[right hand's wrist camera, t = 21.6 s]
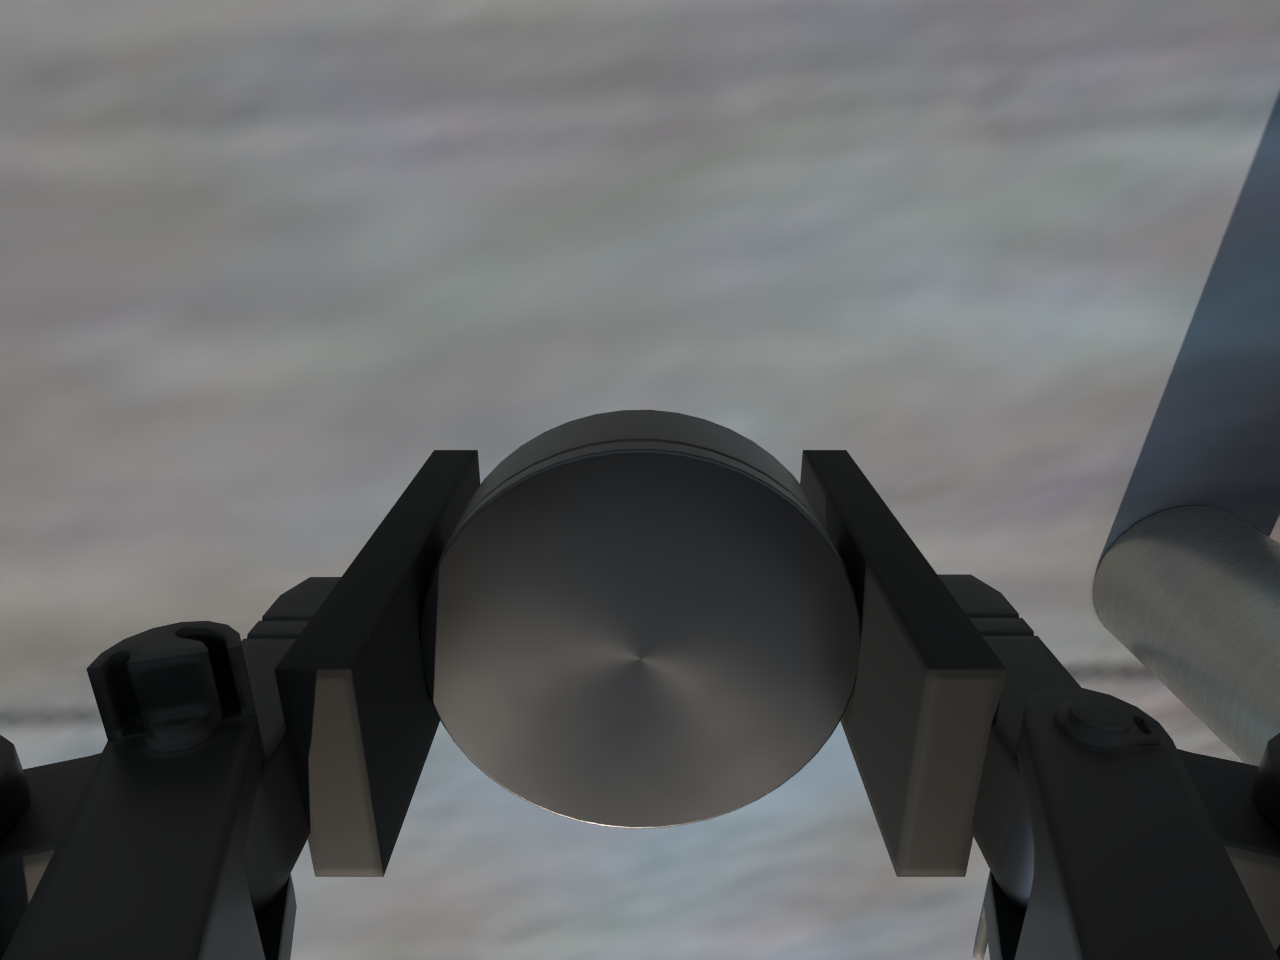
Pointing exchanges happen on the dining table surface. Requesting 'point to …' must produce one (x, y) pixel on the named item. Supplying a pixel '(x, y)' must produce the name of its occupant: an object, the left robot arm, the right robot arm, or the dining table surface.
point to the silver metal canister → (1201, 617)
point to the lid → (640, 622)
